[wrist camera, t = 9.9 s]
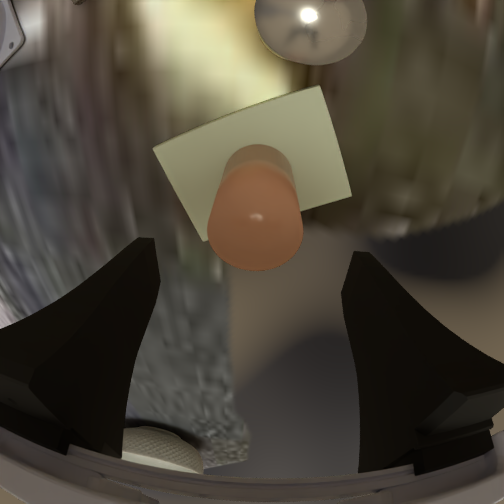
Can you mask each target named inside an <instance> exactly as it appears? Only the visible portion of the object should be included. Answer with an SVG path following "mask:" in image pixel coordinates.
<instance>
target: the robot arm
mask: <svg viewBox="0 0 504 504" xmlns="http://www.w3.org/2000/svg"><path fill="white" fill-rule="evenodd" d="M23 41H24V36H23V34H22V31H21V28H20V26H19V23H18V21H17V18H16V15H15V12H14V10H13V7H12V4H11V1H10V0H0V68H1V66H2V65H3V64H4V63H5V62H6V61H7V60H8V59H9V58H10V57H11V56H12V55H13V53H14V52H15V51H16V50H17V49H18V48H19V47H20V46H21V45H22V44H23ZM13 43H14V47H13ZM160 282H161V280H160V274H159V268H158V262H157V256H156V249H155V242H154V238H141V237H138V238H137V239H136V240H134V241H133V242H132V243H131V244H129V245H128V246H127V247H126V248H124V249H123V250H122V251H121V252H120V253H119V254H117V255H116V256H115V257H114V258H113V259H111V260H110V261H109V262H108V263H107V264H105V265H104V266H103V267H102V268H101V269H99V270H98V271H97V272H95V273H94V274H93V275H92V276H90V277H89V278H88V279H87V280H85V281H84V282H83V283H82V284H80V285H79V286H77V287H76V288H75V289H73V290H72V291H70V292H69V293H67V294H66V295H64V296H63V297H61V298H60V299H58V300H57V301H55V302H53V303H52V304H50V305H48V306H46V307H45V308H43V309H41V310H39V311H38V312H36V313H34V314H32V315H30V316H28V317H26V318H24V319H22V320H20V321H18V322H16V323H13V324H11V325H9V326H6V327H4V328H1V329H0V487H1V488H2V489H4V490H5V491H7V492H8V493H10V494H12V495H13V496H15V497H16V498H18V499H20V500H21V501H23V502H25V503H27V504H159V501H158V500H156V499H153V498H151V497H148V496H146V495H144V494H142V492H141V491H140V490H137V489H134V488H131V487H128V486H125V485H122V484H119V483H116V482H113V481H110V480H107V479H106V478H108V479H111V480H115V481H118V482H122V483H125V484H130V485H133V486H138V487H142V488H147V489H151V490H156V491H161V492H166V493H173V494H179V495H185V496H192V497H200V498H208V499H217V500H229V501H246V502H298V501H299V502H300V501H317V500H328V499H338V498H346V497H353V496H361V495H366V496H362V497H357V498H352V499H347V500H342V501H339V502H338V503H337V504H496V503H497V502H499V501H501V500H502V499H504V430H503V431H500V432H498V433H496V434H494V435H492V436H491V434H490V431H489V429H491V428H493V425H494V424H493V421H492V417H493V416H494V415H495V414H497V413H498V412H499V411H500V410H501V409H503V408H504V364H503V363H501V362H499V361H497V360H495V359H493V358H491V357H490V356H488V355H486V354H484V353H483V352H481V351H479V350H478V349H476V348H475V347H473V346H472V345H470V344H469V343H467V342H466V341H464V340H462V339H461V338H460V337H458V336H457V335H456V334H454V333H453V332H452V331H450V330H449V329H448V328H447V327H445V326H444V325H443V324H441V323H440V322H439V321H438V320H437V319H436V318H434V317H433V316H432V315H431V314H430V313H429V312H428V311H426V310H425V309H424V308H423V307H422V306H421V305H420V304H419V303H418V302H417V301H416V300H415V299H414V298H413V297H412V296H411V295H410V294H409V293H408V292H407V291H406V290H405V289H404V288H403V287H402V286H401V285H400V284H399V283H398V282H397V281H396V280H395V279H394V277H393V276H392V275H391V274H390V273H389V272H388V271H387V270H386V269H385V268H384V267H383V266H382V265H381V264H380V262H378V261H377V260H376V258H375V257H374V256H373V255H372V254H370V253H369V252H359V251H354V252H353V255H352V259H351V262H350V265H349V269H348V272H347V275H346V279H345V282H344V285H343V288H342V291H341V296H342V306H343V314H344V320H345V324H346V328H347V332H348V337H349V341H350V345H351V349H352V353H353V357H354V362H355V367H356V372H357V381H358V392H359V407H360V453H359V467H358V474H350V475H340V476H329V477H315V478H287V479H268V478H266V479H264V478H240V477H226V476H214V475H205V474H197V473H189V472H182V471H176V470H170V469H164V468H159V467H154V466H149V465H144V464H139V463H135V462H130V461H126V460H122V459H121V458H122V447H123V433H124V423H125V414H126V406H127V400H128V394H129V388H130V383H131V378H132V373H133V368H134V364H135V360H136V357H137V353H138V350H139V348H140V345H141V342H142V339H143V336H144V334H145V331H146V328H147V326H148V323H149V320H150V317H151V315H152V312H153V309H154V306H155V303H156V299H157V295H158V291H159V287H160ZM373 493H374V494H373ZM367 494H370V495H367Z"/></svg>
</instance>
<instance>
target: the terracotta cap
mask: <svg viewBox="0 0 504 504" xmlns="http://www.w3.org/2000/svg"><path fill="white" fill-rule="evenodd" d="M207 236H208V240H209V243H210V245H211V247H212V249H213V250H214V252H215V253H216V254H217V255H218V256H219V257H220V258H221V259H222V260H223V261H225V262H226V263H228V264H230V265H232V266H234V267H236V268H239V269H244V270H249V271H264V270H269V269H273V268H276V267H278V266H280V265H282V264H284V263H285V262H287V261H288V260H289V259H291V258H292V257H293V256H294V254H295V253H296V252H297V251H298V249H299V247H300V245H301V243H302V239H303V224H302V218H301V213H300V208H299V202H298V197H297V192H296V187H295V182H294V177H293V172H292V167H291V165H290V163H289V161H288V159H287V158H286V157H285V156H284V155H283V153H281V152H280V151H279V150H277V149H275V148H273V147H271V146H267V145H262V144H254V145H248V146H245V147H243V148H241V149H239V150H237V151H236V152H235V153H234V154H232V156H231V157H230V158H229V159H228V161H227V163H226V165H225V168H224V171H223V175H222V178H221V181H220V184H219V187H218V190H217V194H216V197H215V200H214V203H213V207H212V210H211V213H210V217H209V220H208V224H207Z"/></svg>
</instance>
